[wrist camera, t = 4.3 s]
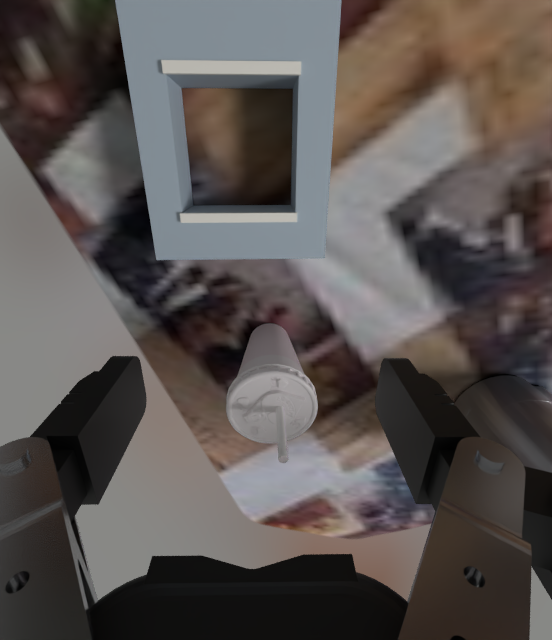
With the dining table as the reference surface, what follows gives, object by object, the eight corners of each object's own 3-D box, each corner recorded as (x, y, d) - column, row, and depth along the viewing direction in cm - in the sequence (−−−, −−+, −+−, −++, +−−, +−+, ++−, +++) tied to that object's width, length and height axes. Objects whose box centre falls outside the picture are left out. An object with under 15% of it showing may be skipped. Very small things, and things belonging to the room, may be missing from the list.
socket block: (340, -218, 17) (363, -327, 13) (316, 245, 28) (325, 259, 24) (104, -227, 17) (58, -343, 13) (170, 246, 27) (155, 261, 23)
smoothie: (312, 355, 32) (344, 481, 20) (251, 377, 33) (245, 511, 21) (288, 299, 30) (308, 403, 17) (223, 325, 31) (196, 441, 18)
